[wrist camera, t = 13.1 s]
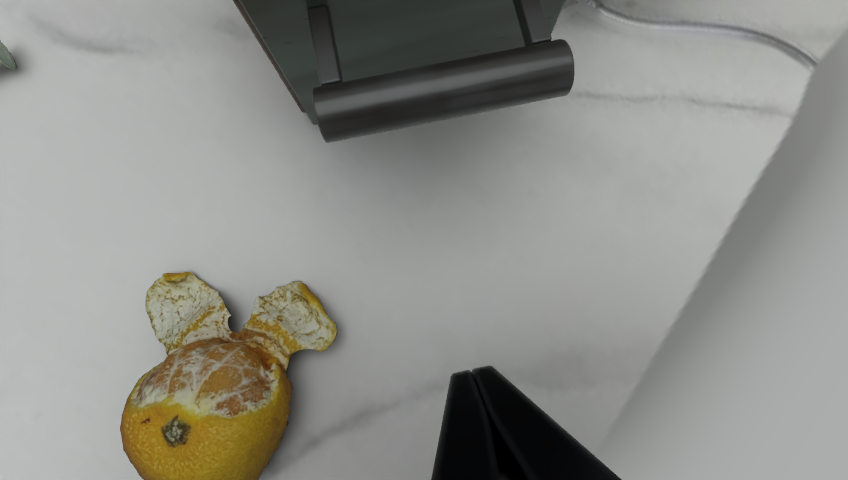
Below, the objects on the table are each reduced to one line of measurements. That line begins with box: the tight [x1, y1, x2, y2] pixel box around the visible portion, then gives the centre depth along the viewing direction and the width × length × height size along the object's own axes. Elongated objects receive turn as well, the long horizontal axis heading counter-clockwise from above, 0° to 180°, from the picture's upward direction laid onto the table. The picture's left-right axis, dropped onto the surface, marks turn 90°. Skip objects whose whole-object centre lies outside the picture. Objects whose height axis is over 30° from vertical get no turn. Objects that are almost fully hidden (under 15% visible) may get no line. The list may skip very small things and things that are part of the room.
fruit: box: [120, 272, 337, 480], centre depth 16 cm, size 8×8×4 cm
